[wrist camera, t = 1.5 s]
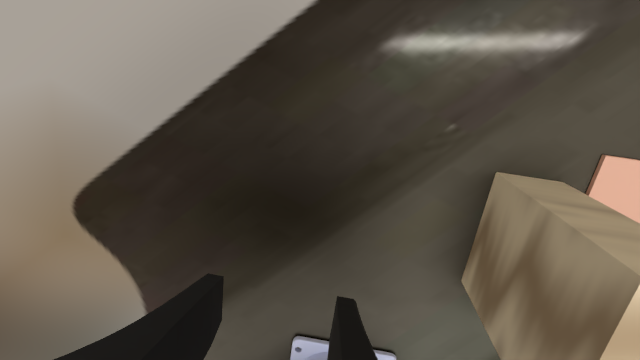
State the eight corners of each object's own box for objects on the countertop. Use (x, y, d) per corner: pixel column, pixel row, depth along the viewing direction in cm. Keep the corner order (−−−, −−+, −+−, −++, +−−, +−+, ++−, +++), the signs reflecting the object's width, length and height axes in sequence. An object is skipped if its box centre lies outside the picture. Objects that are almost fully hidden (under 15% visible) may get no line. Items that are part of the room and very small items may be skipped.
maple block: (519, 290, 23) (658, 476, 12) (461, 281, 23) (548, 455, 13) (562, 182, 20) (783, 300, 10) (496, 171, 20) (643, 277, 10)
